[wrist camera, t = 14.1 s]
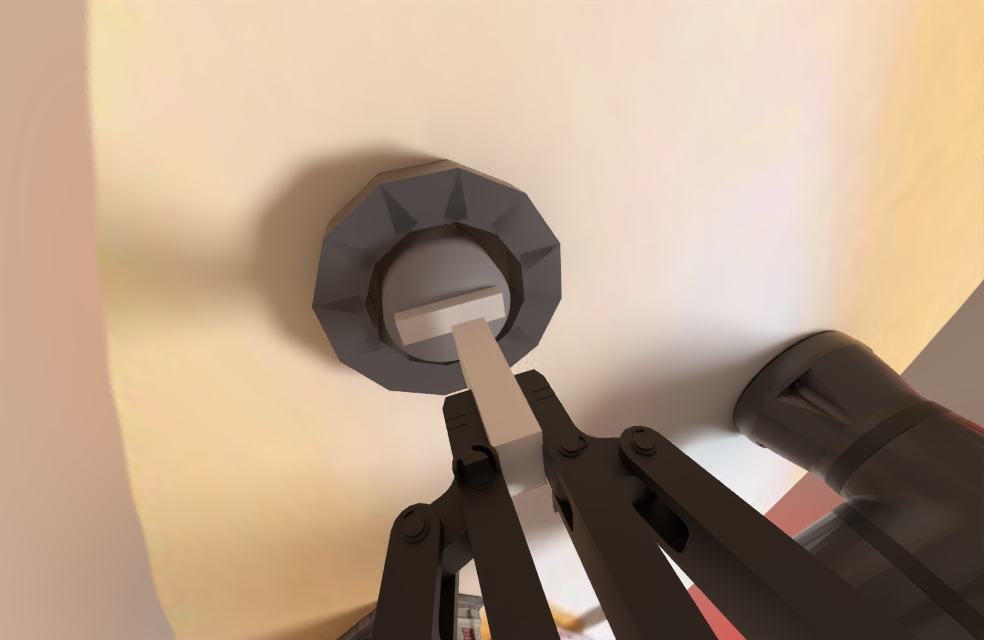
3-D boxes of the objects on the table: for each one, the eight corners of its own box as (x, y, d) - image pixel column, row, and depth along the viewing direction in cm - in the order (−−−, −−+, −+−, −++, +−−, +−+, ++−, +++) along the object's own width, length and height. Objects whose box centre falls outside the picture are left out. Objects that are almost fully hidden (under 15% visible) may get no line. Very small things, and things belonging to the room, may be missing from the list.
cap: (480, 212, 19) (508, 241, 15) (495, 308, 23) (521, 350, 19) (364, 239, 18) (363, 277, 14) (399, 335, 22) (405, 386, 18)
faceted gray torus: (536, 142, 18) (557, 147, 16) (547, 337, 25) (563, 357, 23) (275, 194, 16) (261, 208, 14) (369, 391, 23) (369, 418, 21)
